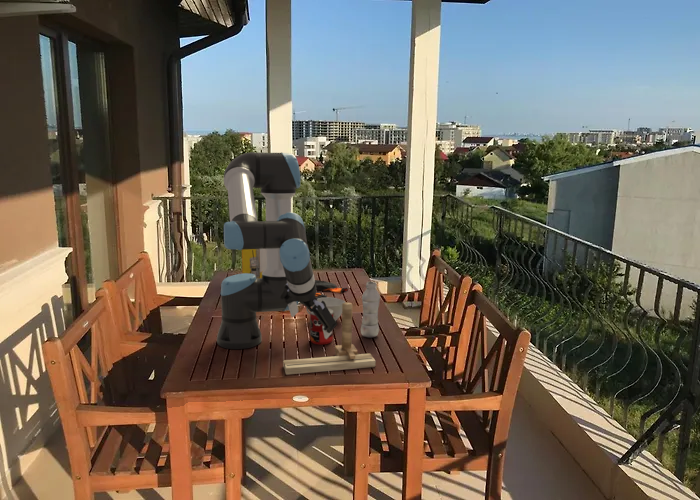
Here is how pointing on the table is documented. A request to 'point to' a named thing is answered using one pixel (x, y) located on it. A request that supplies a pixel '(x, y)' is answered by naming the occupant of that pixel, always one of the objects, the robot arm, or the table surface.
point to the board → (328, 363)
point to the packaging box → (254, 261)
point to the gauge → (346, 333)
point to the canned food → (318, 330)
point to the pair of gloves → (327, 288)
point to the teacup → (332, 305)
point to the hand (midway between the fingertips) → (311, 324)
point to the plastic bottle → (370, 311)
